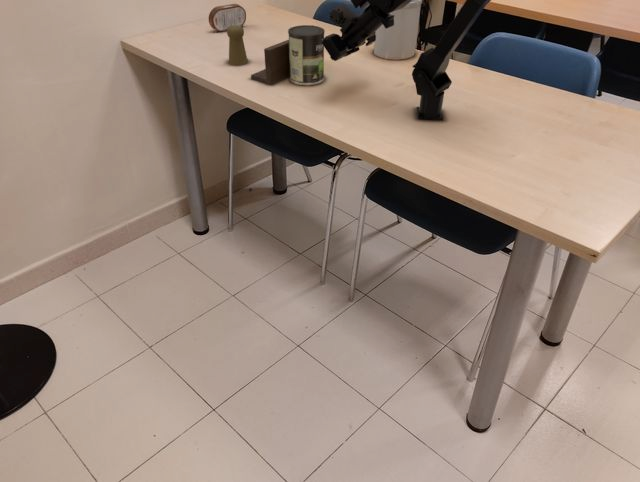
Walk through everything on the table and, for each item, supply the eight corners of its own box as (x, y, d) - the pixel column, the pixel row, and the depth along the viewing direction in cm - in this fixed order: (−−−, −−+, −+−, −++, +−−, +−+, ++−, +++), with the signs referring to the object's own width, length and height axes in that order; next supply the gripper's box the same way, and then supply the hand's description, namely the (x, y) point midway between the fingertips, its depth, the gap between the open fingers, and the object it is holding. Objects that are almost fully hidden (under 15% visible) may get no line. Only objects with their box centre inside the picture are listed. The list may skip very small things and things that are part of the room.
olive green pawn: (224, 63, 160) (220, 27, 153) (236, 57, 164) (232, 22, 157) (240, 66, 158) (237, 30, 151) (251, 60, 162) (248, 25, 155)
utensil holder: (368, 58, 164) (371, 0, 154) (375, 44, 176) (379, -10, 165) (413, 62, 162) (420, 4, 151) (417, 48, 173) (424, -8, 162)
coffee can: (327, 74, 153) (328, 26, 144) (318, 87, 145) (319, 36, 136) (295, 71, 155) (294, 23, 146) (284, 83, 147) (283, 33, 138)
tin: (243, 24, 194) (241, 1, 188) (248, 26, 192) (246, 3, 186) (209, 32, 186) (206, 7, 181) (213, 34, 184) (210, 9, 179)
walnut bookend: (313, 66, 159) (313, 33, 152) (271, 85, 146) (269, 50, 140) (293, 60, 162) (292, 28, 156) (251, 78, 150) (248, 44, 143)
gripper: (369, -11, 134) (334, 25, 146) (328, 3, 122) (294, 41, 134) (392, 25, 135) (356, 58, 147) (353, 42, 123) (317, 77, 135)
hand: (331, 58), depth 141 cm, fingers closed
